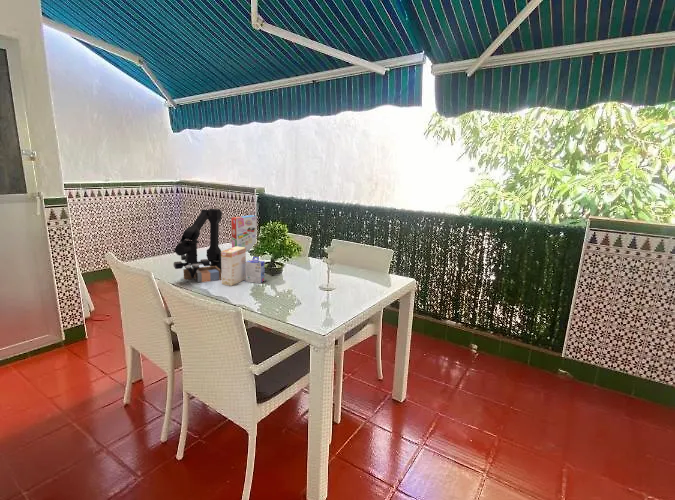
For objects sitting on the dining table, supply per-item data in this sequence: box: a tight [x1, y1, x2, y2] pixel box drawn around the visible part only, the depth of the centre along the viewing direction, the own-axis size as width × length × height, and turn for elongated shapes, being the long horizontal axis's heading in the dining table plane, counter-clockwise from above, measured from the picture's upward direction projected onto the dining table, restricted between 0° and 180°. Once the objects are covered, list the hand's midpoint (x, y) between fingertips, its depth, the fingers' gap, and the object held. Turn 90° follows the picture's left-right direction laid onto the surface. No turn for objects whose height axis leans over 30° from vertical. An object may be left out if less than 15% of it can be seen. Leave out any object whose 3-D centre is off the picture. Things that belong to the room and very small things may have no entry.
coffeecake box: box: [221, 246, 247, 287], centre depth 217 cm, size 15×7×20 cm, turn 160°
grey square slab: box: [194, 270, 203, 283], centre depth 217 cm, size 2×6×6 cm, turn 34°
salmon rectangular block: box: [200, 270, 212, 283], centre depth 219 cm, size 5×6×5 cm
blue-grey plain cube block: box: [208, 269, 220, 282], centre depth 222 cm, size 5×6×5 cm
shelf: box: [182, 266, 222, 281], centre depth 220 cm, size 19×10×6 cm, turn 124°
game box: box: [231, 214, 257, 252], centre depth 294 cm, size 21×6×27 cm, turn 145°
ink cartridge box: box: [245, 256, 265, 284], centre depth 220 cm, size 10×6×14 cm, turn 78°
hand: (192, 278), depth 215 cm, fingers closed
